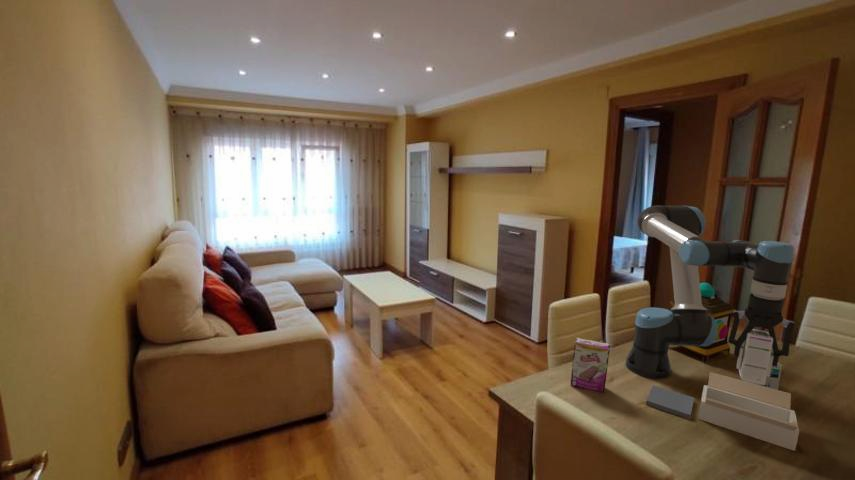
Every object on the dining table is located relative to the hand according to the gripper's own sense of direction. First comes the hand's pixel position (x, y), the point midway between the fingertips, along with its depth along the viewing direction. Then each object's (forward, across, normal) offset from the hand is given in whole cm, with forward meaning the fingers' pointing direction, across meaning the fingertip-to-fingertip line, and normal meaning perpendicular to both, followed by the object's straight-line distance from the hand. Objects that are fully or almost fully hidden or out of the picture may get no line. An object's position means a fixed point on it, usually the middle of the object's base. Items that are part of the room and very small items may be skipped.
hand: (752, 370), depth 116 cm
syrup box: (+3, 0, 0) cm, 3 cm away
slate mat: (+17, -19, -2) cm, 26 cm away
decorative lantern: (+18, -16, +50) cm, 55 cm away
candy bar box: (+18, -43, -9) cm, 47 cm away
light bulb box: (+18, +4, +32) cm, 36 cm away
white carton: (+17, 0, 0) cm, 17 cm away
